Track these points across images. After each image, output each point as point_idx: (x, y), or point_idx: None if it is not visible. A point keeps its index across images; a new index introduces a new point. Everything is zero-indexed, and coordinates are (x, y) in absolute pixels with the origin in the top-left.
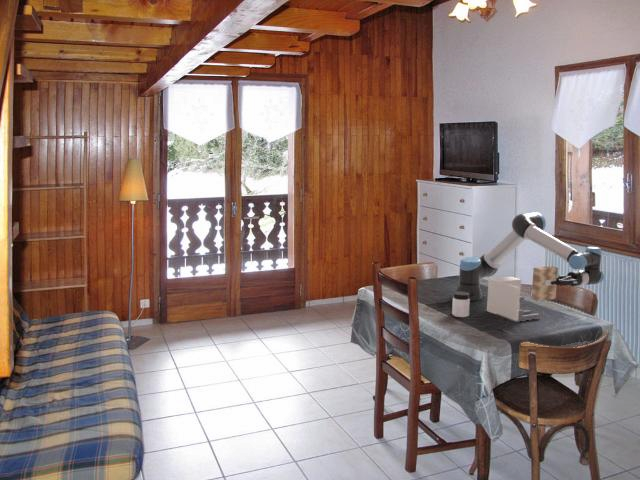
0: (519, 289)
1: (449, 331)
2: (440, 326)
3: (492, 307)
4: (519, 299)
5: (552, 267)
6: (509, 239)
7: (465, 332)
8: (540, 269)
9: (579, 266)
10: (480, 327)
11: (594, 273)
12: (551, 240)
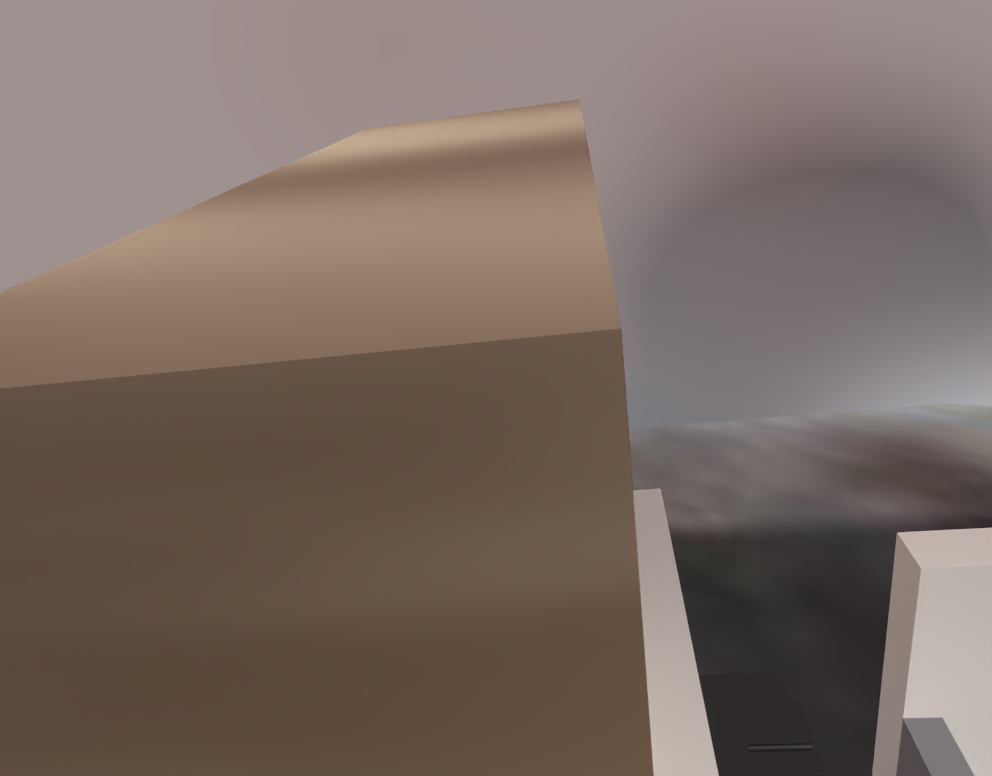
0: (910, 582)
1: (685, 424)
2: (792, 420)
3: None
4: (897, 744)
5: (232, 252)
6: None
7: (641, 466)
8: (357, 135)
9: None
10: (722, 558)
11: None
12: None
